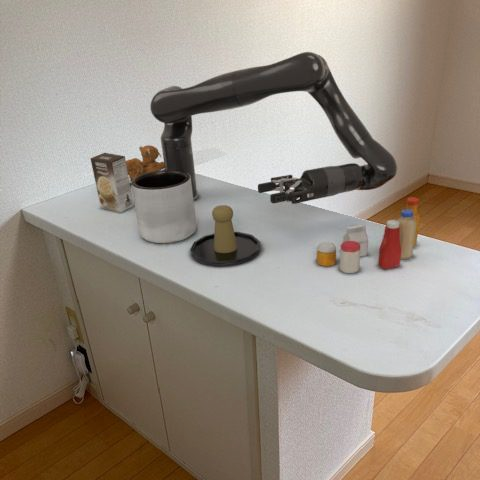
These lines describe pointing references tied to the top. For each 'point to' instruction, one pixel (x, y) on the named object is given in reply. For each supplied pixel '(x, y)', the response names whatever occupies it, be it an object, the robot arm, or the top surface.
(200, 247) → the metal plate
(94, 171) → the coffee box
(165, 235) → the planter
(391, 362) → the top surface
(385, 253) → the toy food
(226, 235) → the cork
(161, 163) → the stuffed squirrel
